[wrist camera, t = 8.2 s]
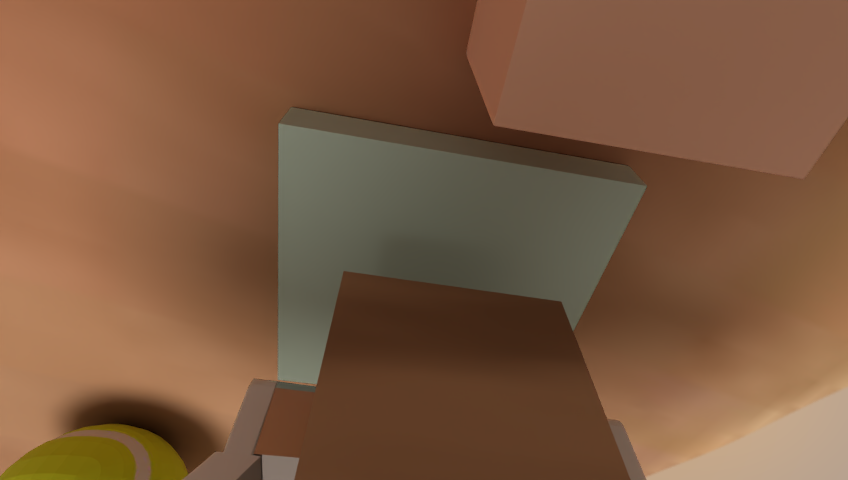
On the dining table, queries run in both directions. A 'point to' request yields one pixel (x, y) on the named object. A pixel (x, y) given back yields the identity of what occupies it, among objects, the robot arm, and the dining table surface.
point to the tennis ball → (101, 457)
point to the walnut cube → (453, 389)
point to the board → (433, 220)
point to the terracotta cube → (670, 75)
